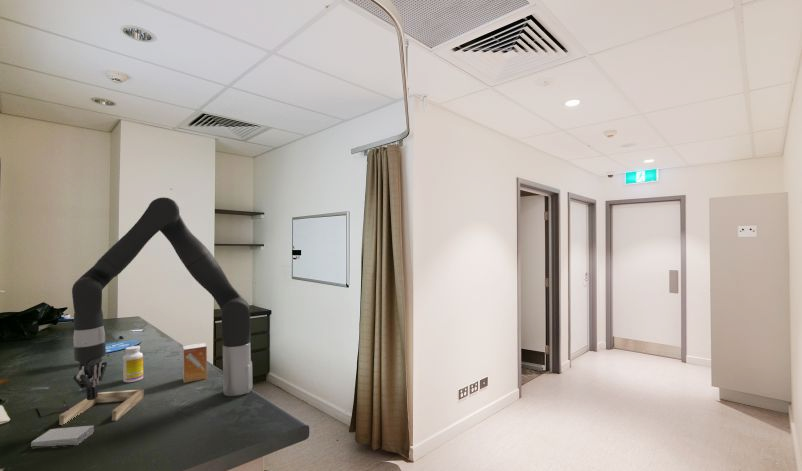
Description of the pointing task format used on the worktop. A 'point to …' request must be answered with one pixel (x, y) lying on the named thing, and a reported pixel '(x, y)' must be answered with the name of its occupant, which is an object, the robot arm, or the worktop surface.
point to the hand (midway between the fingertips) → (92, 398)
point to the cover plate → (64, 436)
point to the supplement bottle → (132, 364)
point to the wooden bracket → (127, 396)
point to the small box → (194, 362)
